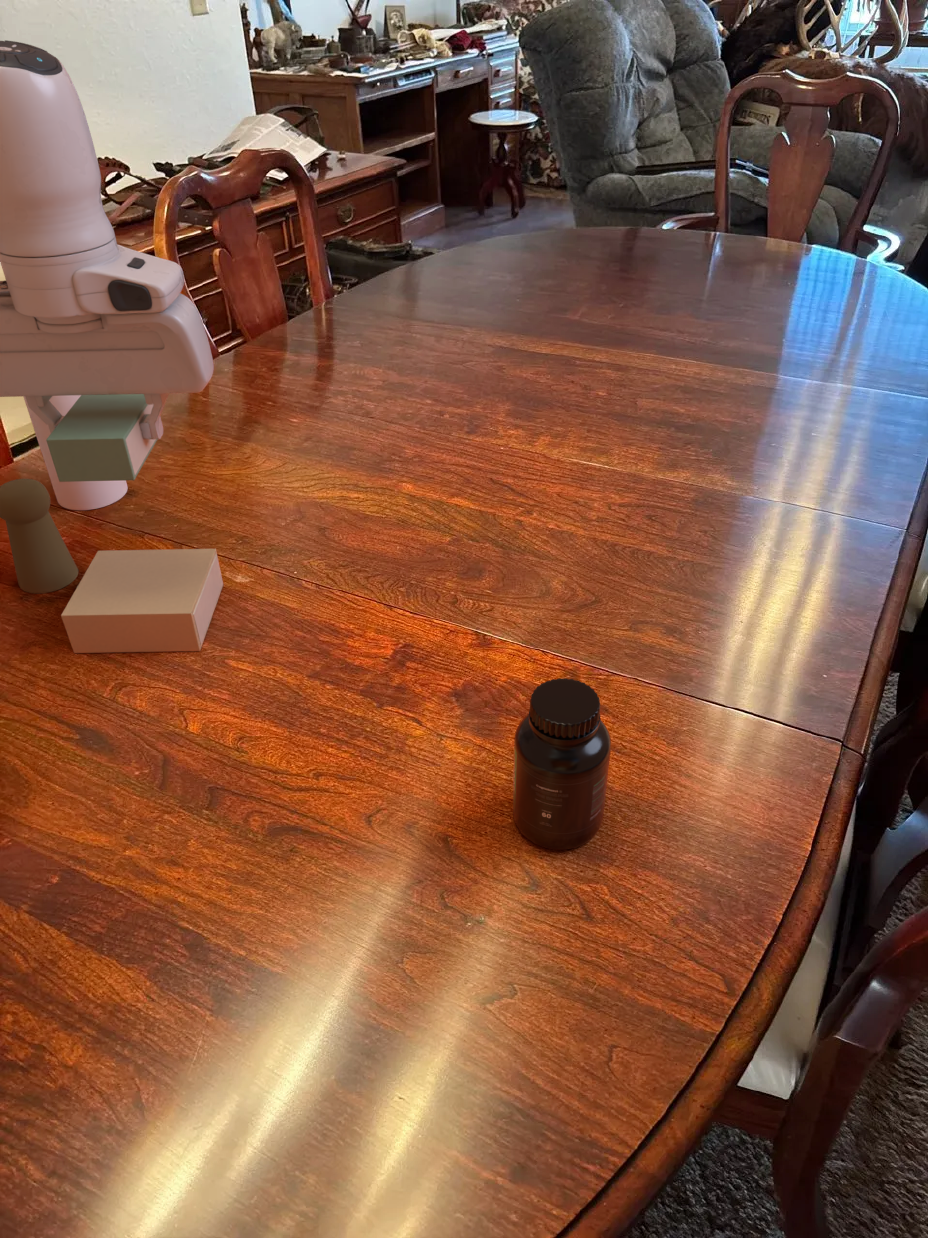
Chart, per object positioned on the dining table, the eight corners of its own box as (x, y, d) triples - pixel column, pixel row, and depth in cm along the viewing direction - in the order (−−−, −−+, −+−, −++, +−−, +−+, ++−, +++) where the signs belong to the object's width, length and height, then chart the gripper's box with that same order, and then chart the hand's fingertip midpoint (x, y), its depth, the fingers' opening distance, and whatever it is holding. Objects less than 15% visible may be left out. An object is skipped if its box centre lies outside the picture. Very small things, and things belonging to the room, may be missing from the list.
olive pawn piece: (90, 570, 98) (61, 479, 92) (44, 599, 94) (10, 506, 88) (52, 555, 101) (21, 465, 94) (6, 583, 97) (-30, 491, 90)
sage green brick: (59, 482, 79) (45, 439, 77) (95, 431, 87) (83, 391, 85) (135, 480, 79) (124, 437, 77) (164, 429, 87) (154, 389, 85)
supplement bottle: (495, 827, 70) (496, 710, 62) (540, 771, 74) (546, 656, 67) (575, 868, 66) (586, 749, 59) (618, 807, 71) (632, 690, 64)
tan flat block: (73, 653, 87) (60, 615, 85) (108, 586, 96) (97, 550, 93) (201, 651, 87) (192, 613, 84) (224, 584, 96) (216, 548, 93)
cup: (72, 517, 107) (30, 387, 98) (47, 491, 113) (5, 365, 103) (138, 494, 112) (105, 367, 102) (111, 470, 117) (77, 347, 107)
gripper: (-81, 294, 71) (-21, 456, 80) (183, 289, 71) (215, 451, 80) (-46, 270, 76) (7, 424, 85) (200, 265, 76) (229, 420, 85)
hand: (109, 437), depth 82 cm, fingers closed on sage green brick, 6 cm apart
